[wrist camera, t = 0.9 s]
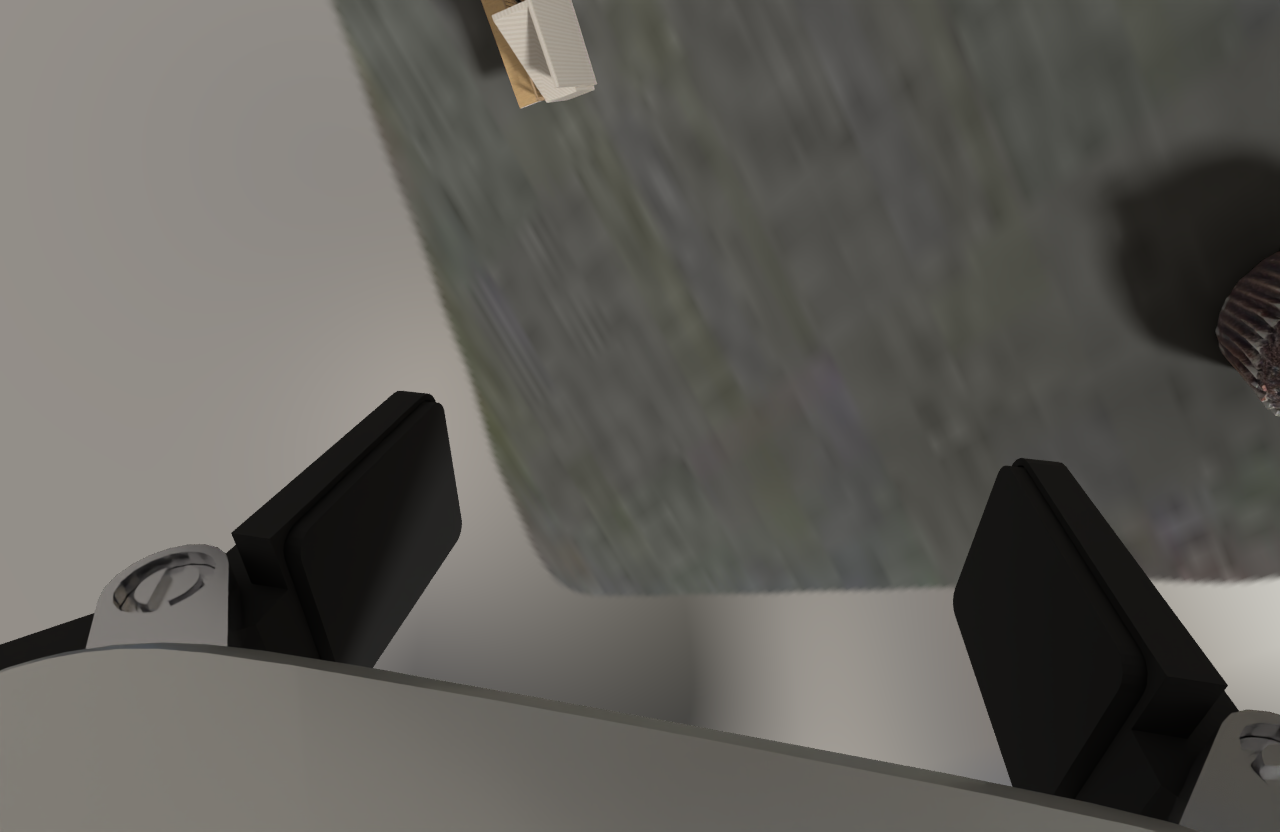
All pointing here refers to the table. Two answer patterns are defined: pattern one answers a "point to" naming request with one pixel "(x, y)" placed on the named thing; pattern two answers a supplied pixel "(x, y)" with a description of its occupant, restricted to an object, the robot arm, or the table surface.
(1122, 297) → the table surface
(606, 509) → the table surface
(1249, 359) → the cupcake
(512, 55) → the architectural model
